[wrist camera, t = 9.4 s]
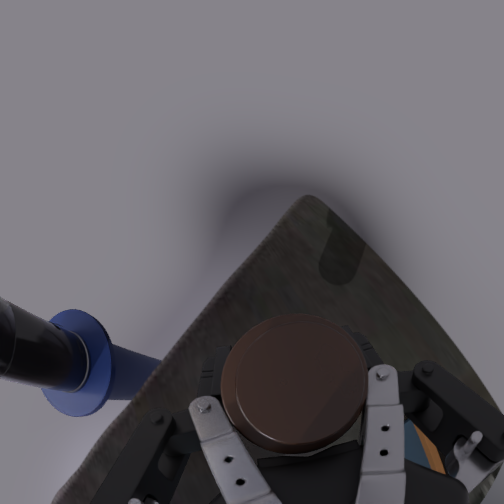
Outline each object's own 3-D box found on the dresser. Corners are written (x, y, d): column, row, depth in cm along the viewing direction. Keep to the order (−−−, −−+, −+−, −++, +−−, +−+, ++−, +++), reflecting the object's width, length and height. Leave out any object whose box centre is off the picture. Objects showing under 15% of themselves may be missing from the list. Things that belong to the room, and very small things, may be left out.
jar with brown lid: (266, 432, 16) (249, 494, 5) (237, 368, 18) (181, 334, 8) (335, 401, 16) (416, 412, 6) (304, 339, 19) (340, 266, 8)
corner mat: (343, 548, 15) (347, 557, 13) (302, 476, 22) (304, 482, 20) (443, 490, 17) (452, 494, 15) (414, 413, 24) (423, 414, 22)
